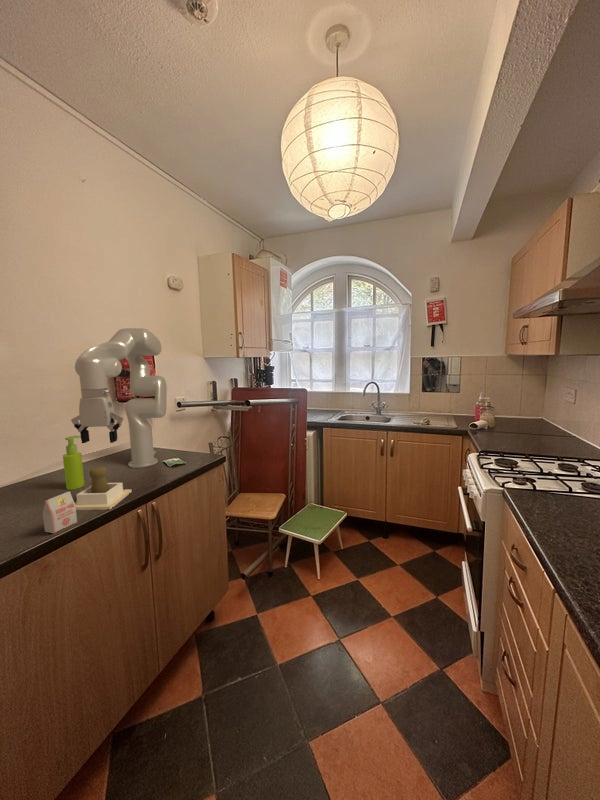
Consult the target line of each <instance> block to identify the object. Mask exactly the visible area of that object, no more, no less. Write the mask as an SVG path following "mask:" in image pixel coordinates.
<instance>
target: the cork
mask: <svg viewBox="0 0 600 800" xmlns="http://www.w3.org/2000/svg"><path fill="white" fill-rule="evenodd" d="M107 474H108V470H107V467H105V466H96V467H93V468H91V469H90V471H89V477H90V478H91V485H92V486H91V485H90V486H91V493H106V492H107V491H109V487H108V483H109V482H108V480H107V477H106V476H107Z"/></svg>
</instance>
